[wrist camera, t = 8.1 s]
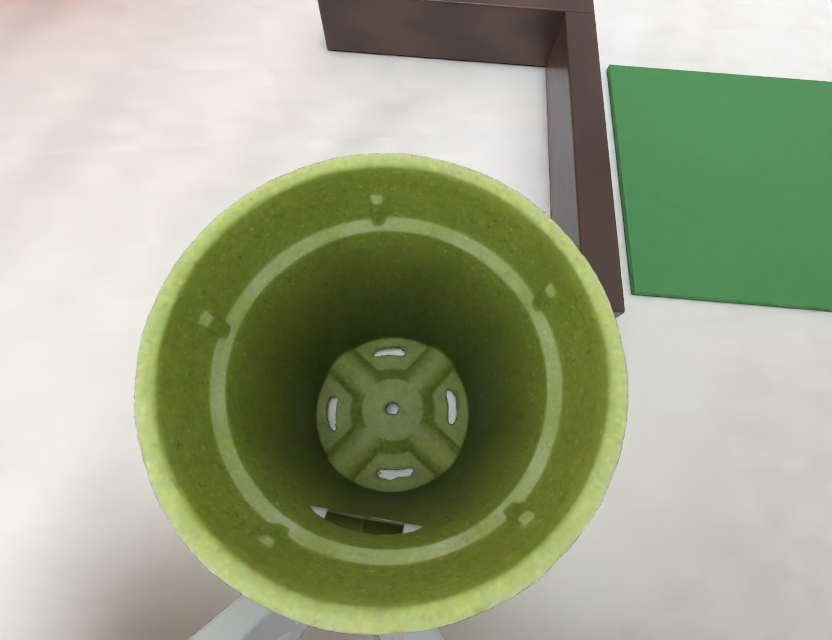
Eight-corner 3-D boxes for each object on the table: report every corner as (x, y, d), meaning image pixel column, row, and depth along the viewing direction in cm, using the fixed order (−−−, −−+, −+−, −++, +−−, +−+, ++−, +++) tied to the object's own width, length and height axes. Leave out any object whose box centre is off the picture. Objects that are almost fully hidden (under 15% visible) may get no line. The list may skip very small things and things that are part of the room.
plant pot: (490, 294, 18) (564, 142, 10) (534, 529, 14) (706, 596, 6) (278, 311, 17) (169, 162, 9) (270, 561, 14) (81, 680, 6)
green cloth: (837, 87, 22) (842, 82, 22) (924, 319, 18) (933, 316, 17) (606, 69, 22) (609, 64, 22) (631, 294, 18) (634, 291, 17)
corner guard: (570, 50, 23) (593, -8, 20) (589, 337, 17) (625, 312, 14) (331, 32, 23) (320, -28, 20) (267, 309, 17) (239, 279, 14)
